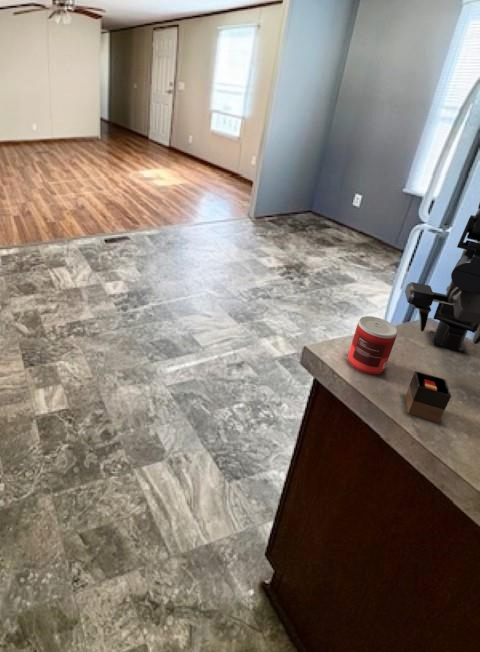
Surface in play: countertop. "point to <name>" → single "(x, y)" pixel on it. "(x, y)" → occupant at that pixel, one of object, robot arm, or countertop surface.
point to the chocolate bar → (429, 384)
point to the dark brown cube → (422, 409)
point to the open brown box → (430, 391)
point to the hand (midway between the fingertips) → (447, 336)
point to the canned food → (372, 344)
